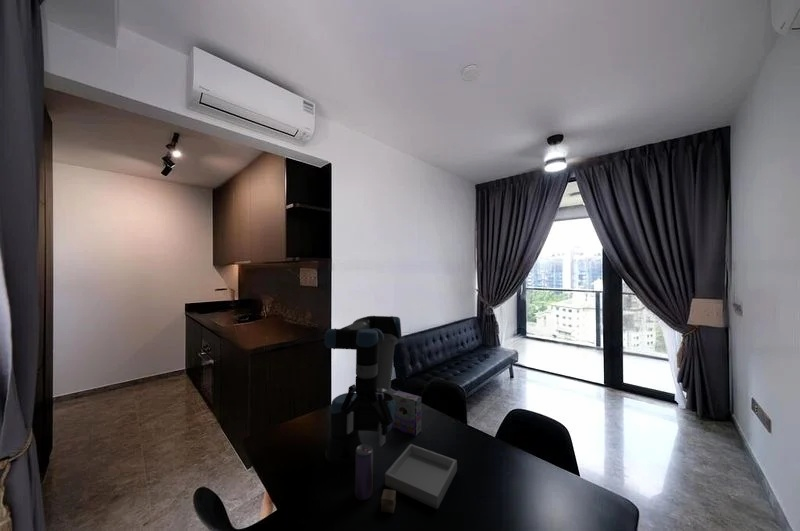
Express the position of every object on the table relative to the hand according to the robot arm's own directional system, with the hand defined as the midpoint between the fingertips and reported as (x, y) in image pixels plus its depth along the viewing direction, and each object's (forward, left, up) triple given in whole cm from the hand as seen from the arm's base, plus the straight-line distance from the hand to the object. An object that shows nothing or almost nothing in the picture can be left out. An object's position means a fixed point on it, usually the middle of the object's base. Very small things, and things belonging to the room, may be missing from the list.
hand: (365, 437), depth 93 cm
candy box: (-6, +42, -19) cm, 46 cm away
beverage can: (0, 0, -19) cm, 19 cm away
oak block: (+10, 0, -19) cm, 21 cm away
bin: (+14, +17, -19) cm, 29 cm away
